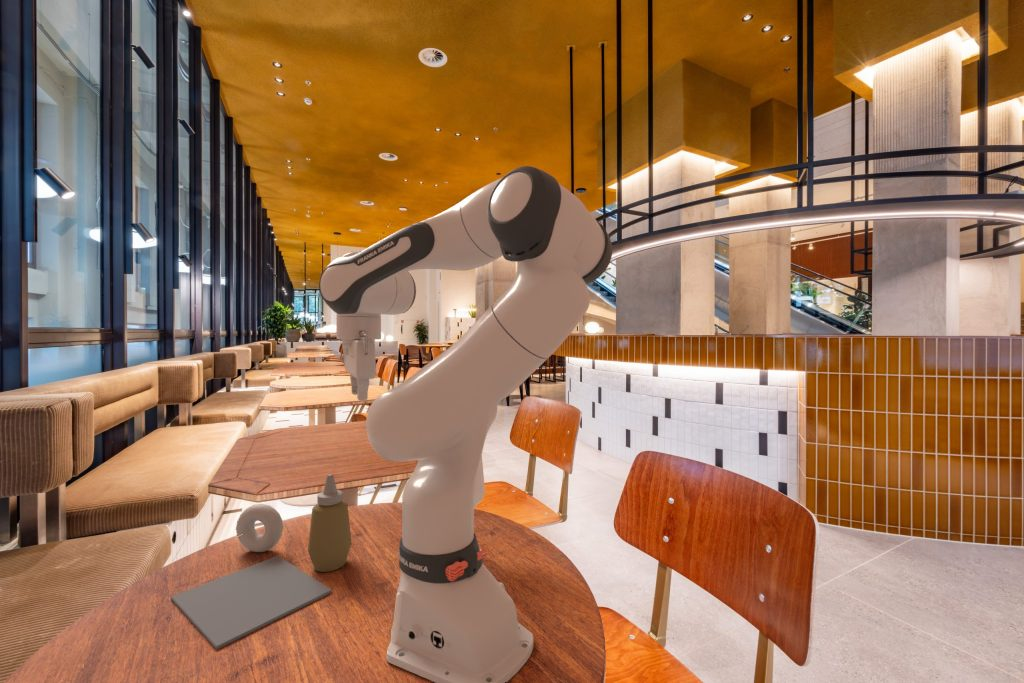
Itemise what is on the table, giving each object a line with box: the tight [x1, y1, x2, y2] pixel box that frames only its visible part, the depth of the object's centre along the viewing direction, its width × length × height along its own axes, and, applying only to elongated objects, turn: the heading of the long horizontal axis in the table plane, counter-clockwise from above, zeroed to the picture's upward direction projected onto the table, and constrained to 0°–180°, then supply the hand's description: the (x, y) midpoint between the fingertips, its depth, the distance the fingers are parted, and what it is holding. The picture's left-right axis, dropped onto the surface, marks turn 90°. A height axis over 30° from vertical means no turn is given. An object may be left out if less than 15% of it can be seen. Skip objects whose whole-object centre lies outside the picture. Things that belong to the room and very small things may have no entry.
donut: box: [235, 503, 284, 553], centre depth 93 cm, size 10×4×10 cm, turn 83°
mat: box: [170, 555, 333, 650], centre depth 77 cm, size 20×18×1 cm
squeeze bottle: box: [307, 473, 352, 573], centre depth 88 cm, size 8×8×18 cm
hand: (359, 397), depth 92 cm, fingers open, 8 cm apart
